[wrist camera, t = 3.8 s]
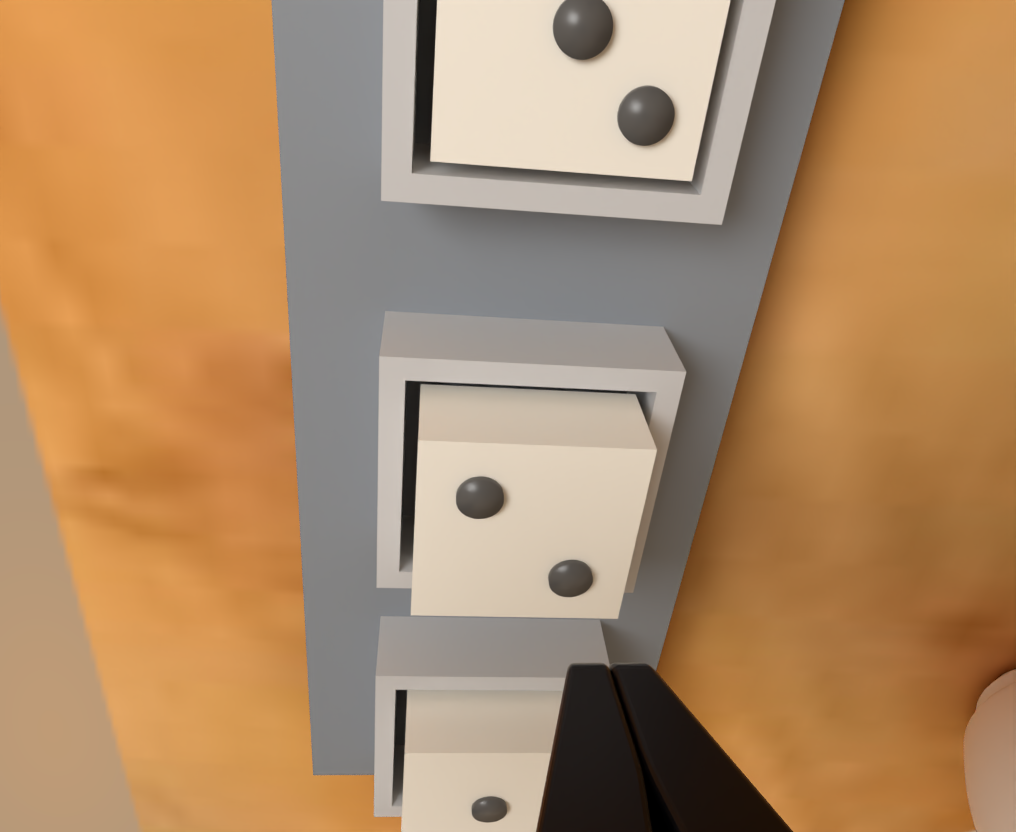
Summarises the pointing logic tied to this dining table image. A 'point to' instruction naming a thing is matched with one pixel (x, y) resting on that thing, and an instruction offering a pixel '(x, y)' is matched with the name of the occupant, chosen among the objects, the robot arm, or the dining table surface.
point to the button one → (476, 759)
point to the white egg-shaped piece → (993, 757)
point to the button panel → (502, 336)
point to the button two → (527, 501)
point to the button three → (575, 84)
